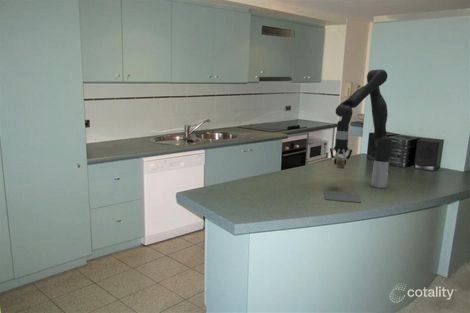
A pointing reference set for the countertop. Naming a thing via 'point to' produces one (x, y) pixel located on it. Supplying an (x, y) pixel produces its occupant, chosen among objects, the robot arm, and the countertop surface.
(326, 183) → the countertop surface
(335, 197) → the mat
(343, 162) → the maple bar
